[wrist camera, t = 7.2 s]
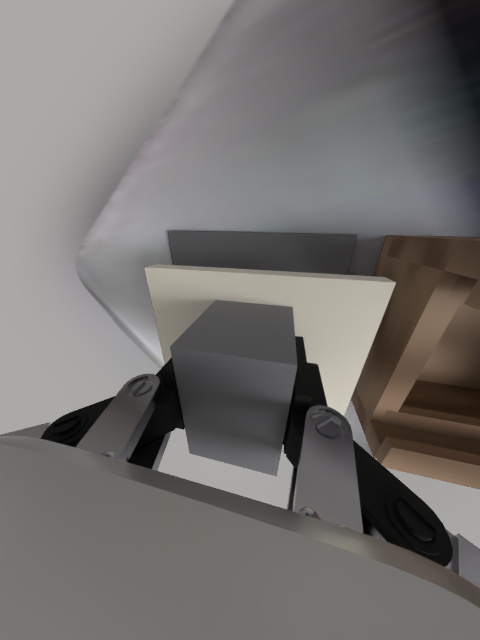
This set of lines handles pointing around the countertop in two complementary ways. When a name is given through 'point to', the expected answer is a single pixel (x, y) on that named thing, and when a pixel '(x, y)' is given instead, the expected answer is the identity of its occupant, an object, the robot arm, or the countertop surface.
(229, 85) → the countertop surface
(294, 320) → the cover plate
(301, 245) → the charcoal mat
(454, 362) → the walnut box
